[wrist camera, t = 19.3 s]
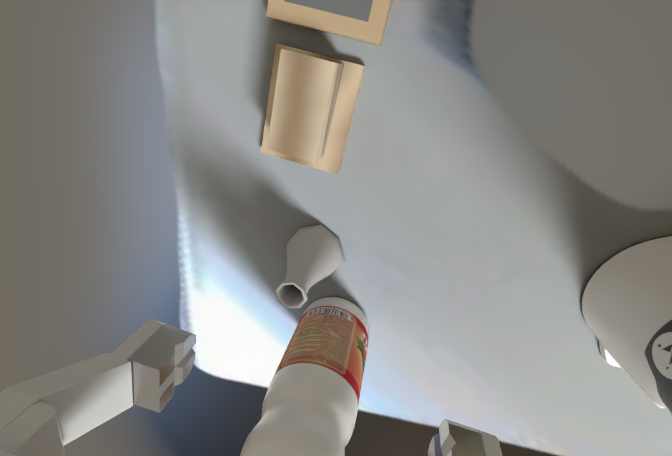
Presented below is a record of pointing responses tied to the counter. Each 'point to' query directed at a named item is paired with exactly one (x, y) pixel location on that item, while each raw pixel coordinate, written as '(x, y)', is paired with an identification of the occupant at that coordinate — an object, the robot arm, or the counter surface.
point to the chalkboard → (336, 16)
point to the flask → (308, 263)
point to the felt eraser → (303, 105)
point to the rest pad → (340, 115)
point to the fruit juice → (315, 385)
